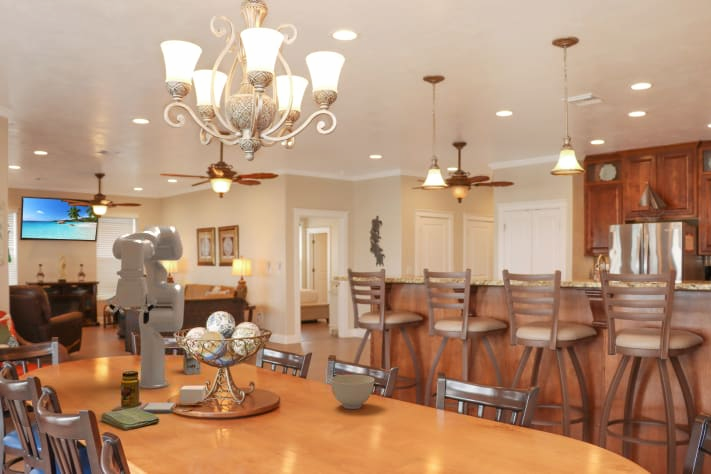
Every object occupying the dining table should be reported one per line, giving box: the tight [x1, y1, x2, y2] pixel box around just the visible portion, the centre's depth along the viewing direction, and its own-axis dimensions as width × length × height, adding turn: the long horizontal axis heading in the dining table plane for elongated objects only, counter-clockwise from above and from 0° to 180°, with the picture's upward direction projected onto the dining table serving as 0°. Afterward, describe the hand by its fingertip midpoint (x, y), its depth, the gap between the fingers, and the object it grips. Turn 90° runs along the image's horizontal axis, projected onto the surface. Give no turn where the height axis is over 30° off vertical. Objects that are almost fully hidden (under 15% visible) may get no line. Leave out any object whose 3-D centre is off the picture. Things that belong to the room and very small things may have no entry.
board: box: [110, 402, 178, 414], centre depth 225 cm, size 10×20×1 cm, turn 92°
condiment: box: [119, 370, 143, 409], centre depth 225 cm, size 7×8×12 cm
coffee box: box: [182, 349, 201, 375], centre depth 290 cm, size 9×6×16 cm
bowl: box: [330, 374, 375, 410], centre depth 232 cm, size 16×16×10 cm
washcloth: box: [100, 408, 160, 431], centre depth 210 cm, size 13×18×3 cm
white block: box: [179, 385, 207, 404], centre depth 234 cm, size 6×8×6 cm
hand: (131, 323), depth 225 cm, fingers open, 9 cm apart
